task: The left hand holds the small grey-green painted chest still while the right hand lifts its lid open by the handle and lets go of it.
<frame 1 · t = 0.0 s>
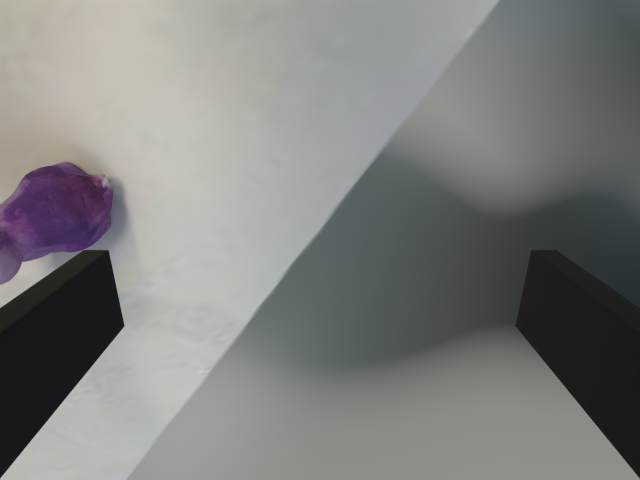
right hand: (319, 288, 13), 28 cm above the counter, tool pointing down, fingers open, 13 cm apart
figurine: (73, 209, 41), on the counter
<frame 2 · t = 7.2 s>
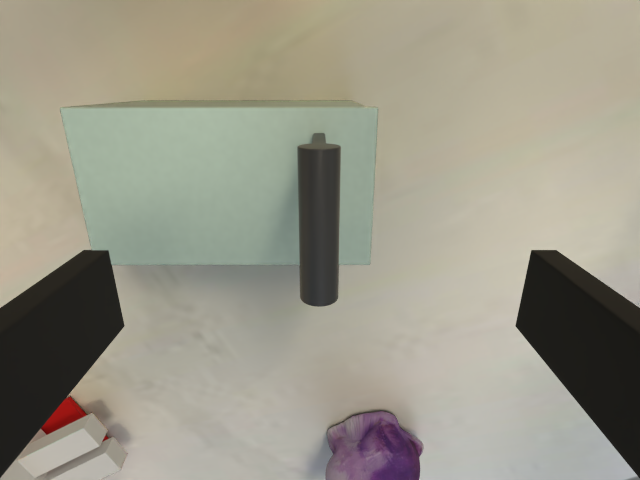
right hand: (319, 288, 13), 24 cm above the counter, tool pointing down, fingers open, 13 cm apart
toy: (19, 451, 47), on the counter
lid: (212, 207, 21), point 15 cm above the counter, hinge at 0.0°
chest: (251, 159, 35), on the counter
figurine: (365, 437, 47), on the counter
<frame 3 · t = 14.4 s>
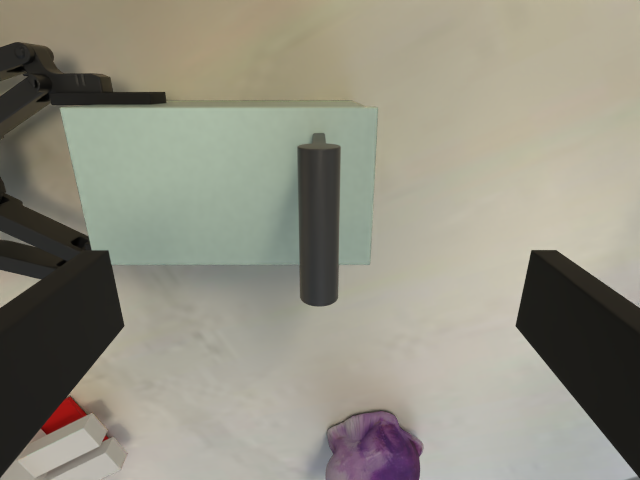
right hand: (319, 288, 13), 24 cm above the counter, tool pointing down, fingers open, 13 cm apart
toy: (19, 451, 47), on the counter
lid: (212, 207, 21), point 15 cm above the counter, hinge at 0.0°
chest: (251, 159, 35), on the counter, touching left hand
figurine: (365, 437, 47), on the counter
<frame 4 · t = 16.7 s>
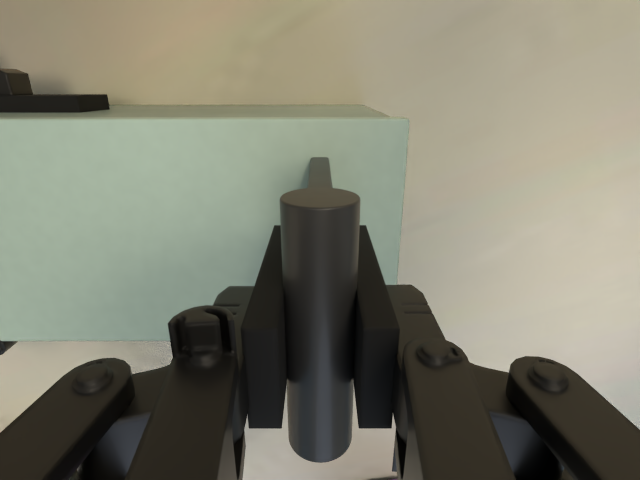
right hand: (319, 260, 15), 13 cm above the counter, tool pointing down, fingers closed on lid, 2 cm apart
lid: (152, 277, 13), point 15 cm above the counter, hinge at -0.1°, touching right hand
chest: (233, 180, 27), on the counter, touching left hand
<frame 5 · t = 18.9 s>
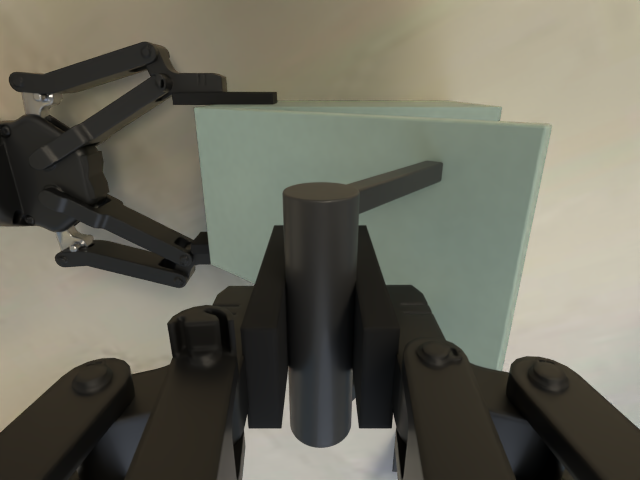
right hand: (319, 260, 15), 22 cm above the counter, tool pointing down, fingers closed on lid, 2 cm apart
left hand: (277, 175, 29), fingers closed on chest, 10 cm apart
lid: (264, 240, 16), point 20 cm above the counter, hinge at 39.1°, touching right hand
chest: (342, 160, 35), on the counter, touching left hand
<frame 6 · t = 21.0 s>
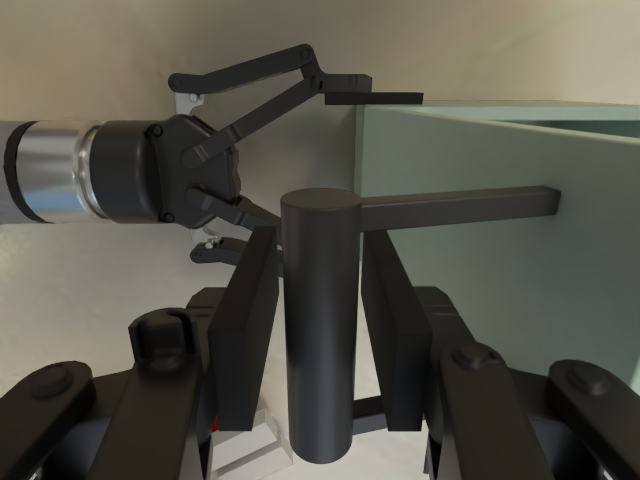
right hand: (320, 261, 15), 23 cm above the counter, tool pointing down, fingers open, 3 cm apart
left hand: (411, 173, 30), fingers closed on chest, 10 cm apart
toy: (171, 446, 48), on the counter
lid: (361, 243, 16), point 21 cm above the counter, hinge at 75.1°
chest: (452, 158, 36), on the counter, touching left hand
when the left hand's fingers open (6 cm above the counter, at t = 24.8 s): chest stays where it is, on the counter.
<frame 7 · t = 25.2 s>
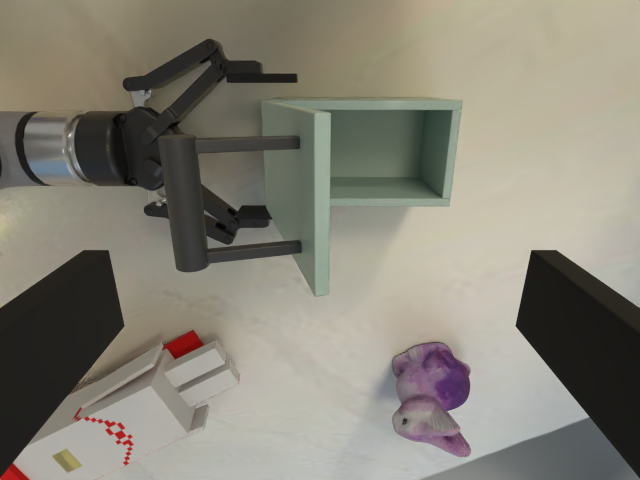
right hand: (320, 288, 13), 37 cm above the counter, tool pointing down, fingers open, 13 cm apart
left hand: (298, 149, 41), fingers open, 13 cm apart
toy: (146, 377, 60), on the counter
lid: (235, 179, 28), point 21 cm above the counter, hinge at 74.2°
chest: (353, 141, 47), on the counter
figurine: (422, 365, 59), on the counter
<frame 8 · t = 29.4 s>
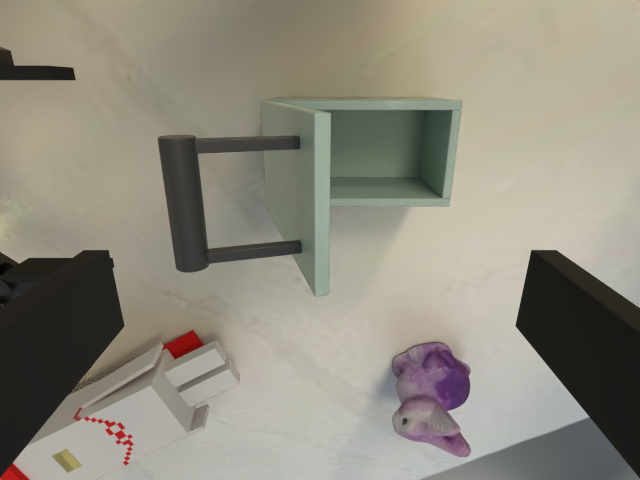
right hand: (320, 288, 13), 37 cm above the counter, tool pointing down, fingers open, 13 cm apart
toy: (146, 377, 60), on the counter
lid: (235, 179, 28), point 21 cm above the counter, hinge at 74.2°
chest: (353, 141, 47), on the counter
figurine: (422, 365, 59), on the counter
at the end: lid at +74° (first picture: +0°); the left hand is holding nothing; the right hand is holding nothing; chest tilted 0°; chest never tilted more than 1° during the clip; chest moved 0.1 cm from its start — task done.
